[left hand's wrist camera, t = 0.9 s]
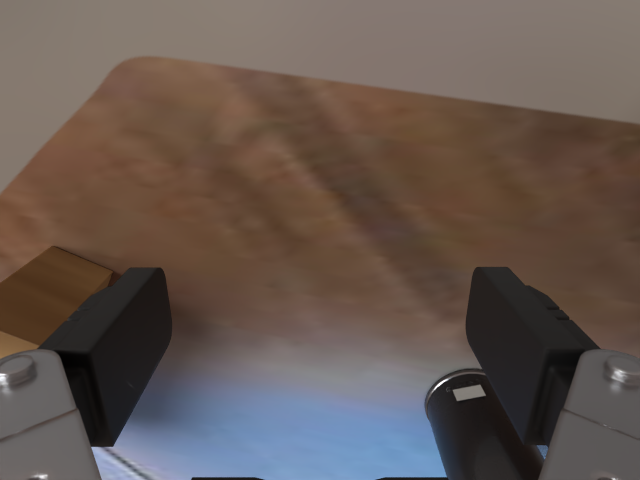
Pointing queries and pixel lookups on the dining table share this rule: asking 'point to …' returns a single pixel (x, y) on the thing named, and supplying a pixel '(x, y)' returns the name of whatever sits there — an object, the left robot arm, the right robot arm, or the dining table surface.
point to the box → (45, 297)
